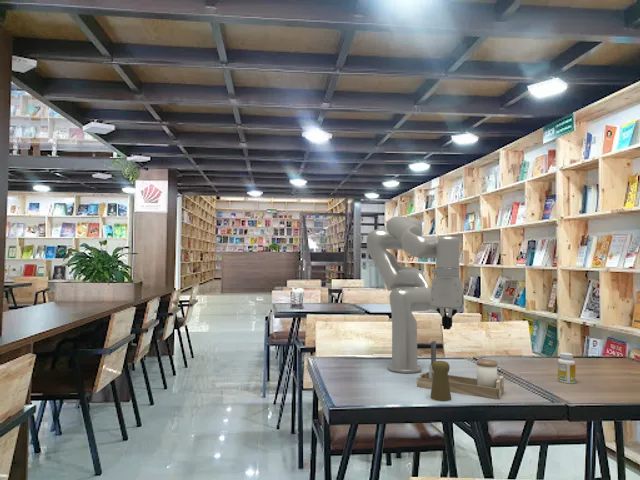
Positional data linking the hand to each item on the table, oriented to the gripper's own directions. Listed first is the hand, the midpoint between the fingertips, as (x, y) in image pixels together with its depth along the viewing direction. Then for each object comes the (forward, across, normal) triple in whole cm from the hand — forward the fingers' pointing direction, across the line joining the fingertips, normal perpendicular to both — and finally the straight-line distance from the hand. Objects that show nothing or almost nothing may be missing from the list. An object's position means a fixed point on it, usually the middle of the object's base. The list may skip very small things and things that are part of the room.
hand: (447, 328), depth 147 cm
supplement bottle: (+19, +34, +31) cm, 49 cm away
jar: (+19, +13, 0) cm, 23 cm away
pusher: (+19, -4, 0) cm, 20 cm away
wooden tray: (+19, +4, 0) cm, 19 cm away
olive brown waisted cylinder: (+19, +2, -14) cm, 23 cm away
